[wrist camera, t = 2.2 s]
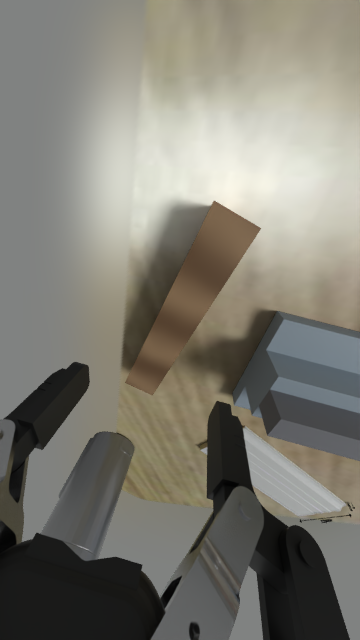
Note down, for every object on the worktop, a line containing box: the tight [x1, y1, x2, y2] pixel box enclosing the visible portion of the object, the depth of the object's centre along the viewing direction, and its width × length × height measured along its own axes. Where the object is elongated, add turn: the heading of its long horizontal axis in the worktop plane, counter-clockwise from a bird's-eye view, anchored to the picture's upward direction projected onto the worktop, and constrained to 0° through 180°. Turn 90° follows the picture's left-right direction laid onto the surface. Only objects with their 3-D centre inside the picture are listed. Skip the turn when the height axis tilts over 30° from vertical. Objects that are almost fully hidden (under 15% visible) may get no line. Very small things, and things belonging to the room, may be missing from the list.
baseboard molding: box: [200, 426, 355, 523], centre depth 34 cm, size 31×3×12 cm
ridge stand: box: [232, 311, 360, 461], centre depth 19 cm, size 14×18×9 cm
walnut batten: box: [125, 201, 261, 395], centre depth 20 cm, size 22×4×4 cm, turn 154°
